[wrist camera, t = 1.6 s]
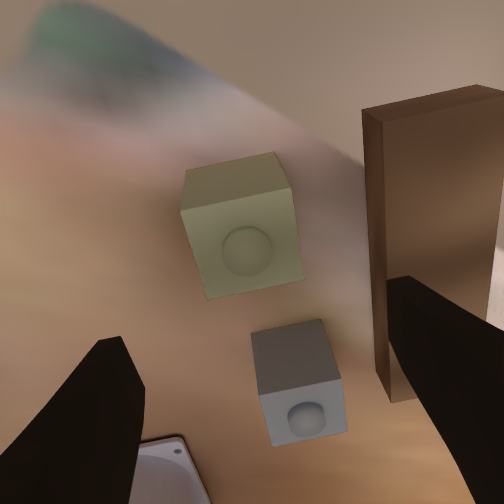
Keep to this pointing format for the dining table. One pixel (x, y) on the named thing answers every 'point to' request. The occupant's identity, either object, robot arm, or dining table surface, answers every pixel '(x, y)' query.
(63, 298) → the dining table surface
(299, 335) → the slate block
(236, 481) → the dining table surface
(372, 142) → the walnut base brick
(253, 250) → the sage block
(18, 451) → the robot arm
